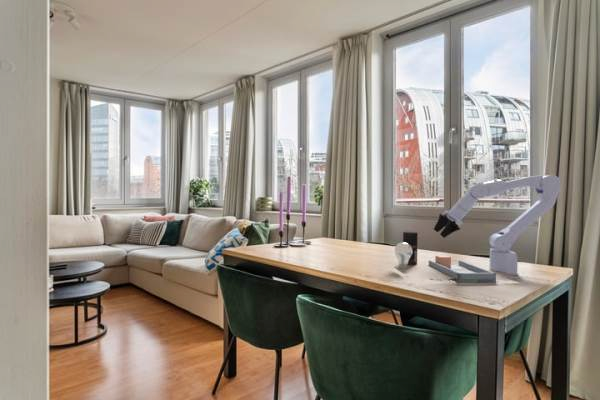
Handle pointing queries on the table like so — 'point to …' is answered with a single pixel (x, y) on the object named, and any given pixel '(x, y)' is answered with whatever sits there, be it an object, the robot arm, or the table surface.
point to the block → (443, 260)
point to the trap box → (466, 273)
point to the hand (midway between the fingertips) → (438, 233)
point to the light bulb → (403, 254)
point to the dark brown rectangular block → (412, 241)
